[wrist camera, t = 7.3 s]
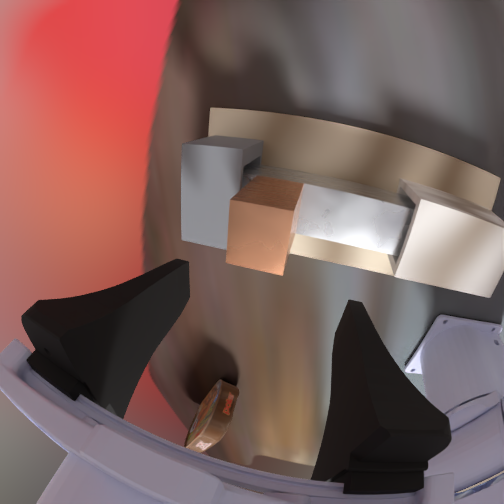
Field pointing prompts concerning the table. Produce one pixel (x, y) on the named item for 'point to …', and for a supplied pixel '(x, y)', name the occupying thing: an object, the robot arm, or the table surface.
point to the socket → (212, 185)
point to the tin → (212, 417)
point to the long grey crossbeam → (309, 216)
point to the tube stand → (395, 180)
